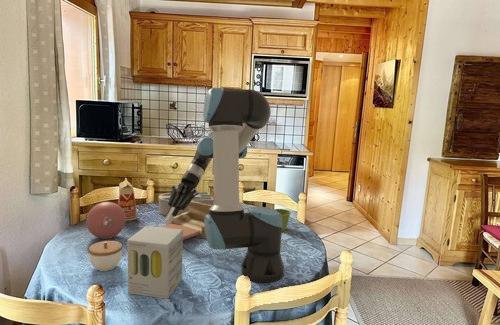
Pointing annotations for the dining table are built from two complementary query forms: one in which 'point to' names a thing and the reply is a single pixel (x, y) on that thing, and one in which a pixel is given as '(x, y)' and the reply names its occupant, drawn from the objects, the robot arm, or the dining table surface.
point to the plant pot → (284, 217)
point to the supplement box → (155, 261)
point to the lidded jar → (105, 255)
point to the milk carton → (127, 200)
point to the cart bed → (194, 217)
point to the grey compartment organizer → (201, 198)
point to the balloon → (106, 220)
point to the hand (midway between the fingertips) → (167, 222)
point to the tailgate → (184, 230)
